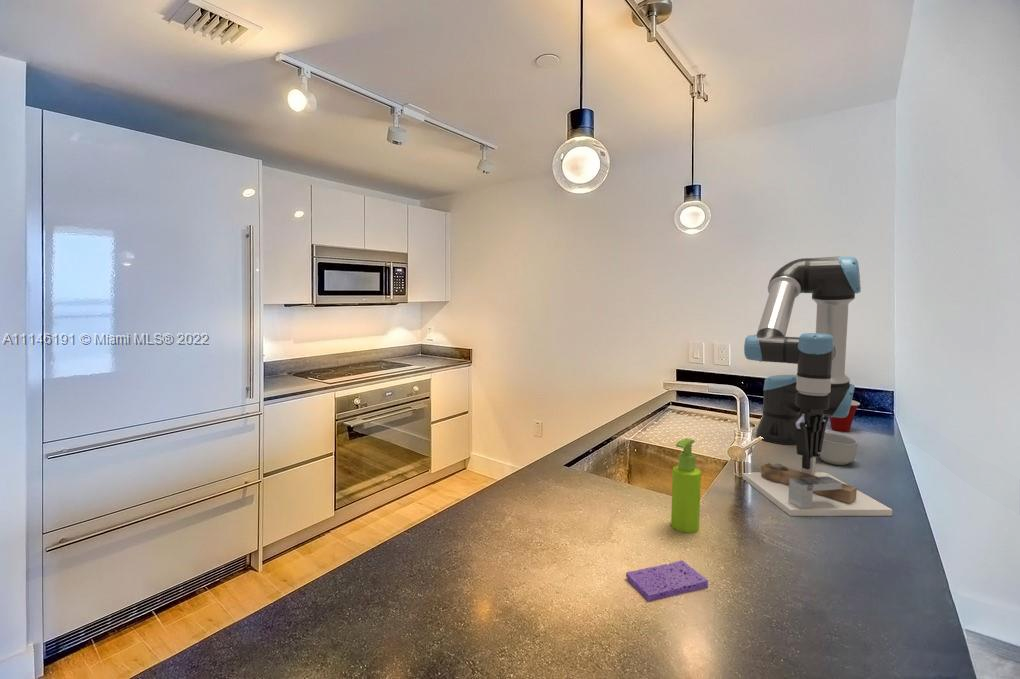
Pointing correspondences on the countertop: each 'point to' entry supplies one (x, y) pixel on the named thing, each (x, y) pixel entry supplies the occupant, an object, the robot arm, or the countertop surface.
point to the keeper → (809, 489)
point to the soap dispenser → (686, 490)
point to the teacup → (838, 449)
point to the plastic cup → (844, 419)
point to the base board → (816, 500)
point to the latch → (784, 474)
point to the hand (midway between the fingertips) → (807, 479)
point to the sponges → (666, 580)
